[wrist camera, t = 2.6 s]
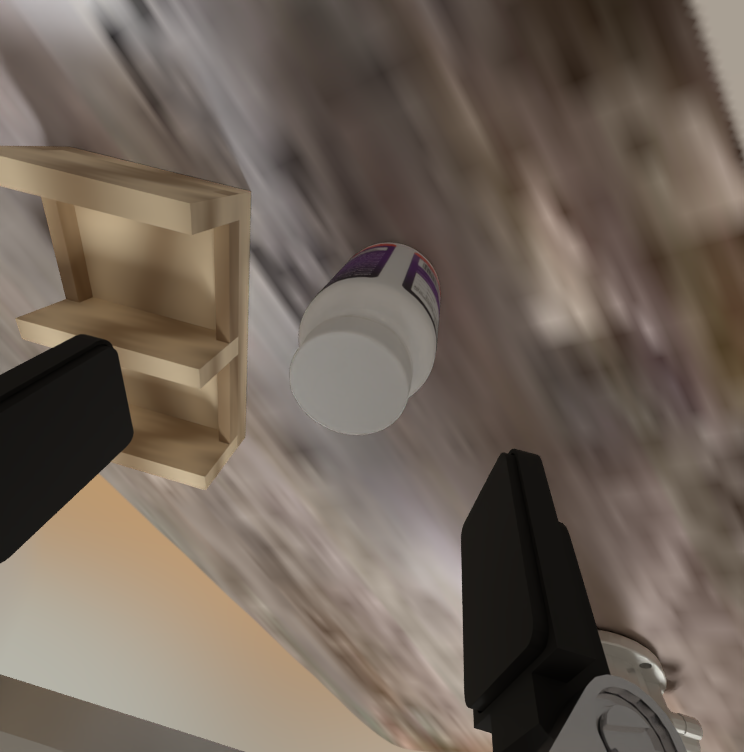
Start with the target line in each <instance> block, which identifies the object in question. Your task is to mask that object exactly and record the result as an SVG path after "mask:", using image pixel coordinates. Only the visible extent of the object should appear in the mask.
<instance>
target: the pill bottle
mask: <svg viewBox="0 0 744 752" xmlns="http://www.w3.org/2000/svg"><path fill="white" fill-rule="evenodd" d="M440 301H441V292H440V284H439V280H438V277H437V274H436V272H435V270H434V268H433V266H432V265H431V263H430V262H429V261H428V260H427V259H426V258H425V257H424V256H423V255H422V254H421V253H419V252H418V251H417V250H415V249H413V248H411V247H409V246H407V245H403V244H399V243H392V242H386V243H378V244H374V245H371V246H368V247H366V248H364V249H363V250H361V251H360V252H358V253H357V254H356V255H354V256H353V257H352V258H351V259H350V260H349V261H348V262H347V263H346V264H345V266H344V267H343V268H342V269H341V270H340V271H339V272H338V273H337V274H336V275H335V276H334V277H333V279H332V280H331V281H330V282H329V283H328V284H327V285H326V286H325V287H324V288H323V289H322V290H321V291H320V292H319V293H318V295H317V296H316V297H315V298H314V299H313V301H312V302H311V303H310V305H309V306H308V308H307V309H306V311H305V313H304V315H303V317H302V320H301V323H300V328H299V349H298V350H297V351H296V353H295V355H294V357H293V359H292V362H291V365H290V372H289V378H290V386H291V390H292V393H293V395H294V397H295V399H296V401H297V403H298V404H299V406H300V407H301V408H302V410H303V411H304V412H305V413H306V414H307V415H308V416H309V417H310V418H312V419H313V420H314V421H316V422H317V423H318V424H320V425H322V426H324V427H326V428H328V429H330V430H332V431H335V432H339V433H342V434H348V435H366V434H372V433H376V432H378V431H381V430H383V429H385V428H387V427H388V426H390V425H391V424H393V423H394V422H395V421H396V420H397V419H398V418H399V416H400V415H401V414H402V412H403V410H404V408H405V406H406V404H407V401H408V398H409V397H410V396H412V395H413V394H414V393H415V392H417V391H418V390H419V389H420V387H421V386H422V385H423V384H424V383H425V381H426V380H427V378H428V376H429V375H430V372H431V370H432V367H433V364H434V360H435V355H436V349H437V336H438V325H439V314H440Z"/></svg>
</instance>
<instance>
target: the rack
mask: <svg viewBox="0 0 744 752" xmlns="http://www.w3.org/2000/svg"><path fill="white" fill-rule="evenodd" d="M0 186H2V187H6V188H10V189H14V190H18V191H21V192H25V193H29V194H33V195H37V196H41V198H42V202H43V206H44V211H45V215H46V219H47V223H48V227H49V231H50V235H51V239H52V243H53V247H54V251H55V255H56V259H57V264H58V268H59V272H60V276H61V280H62V284H63V288H64V292H65V296H66V299H65V300H63V301H60V302H57V303H55V304H52V305H49V306H47V307H44V308H42V309H39V310H36V311H34V312H31V313H28V314H26V315H23V316H20V317H18V318H15V319H16V322H17V325H18V328H19V331H20V334H21V337H22V339H24V340H27V341H31V342H34V343H38V344H41V345H45V346H48V347H52V348H53V347H55V346H57V345H59V344H61V343H63V342H64V341H66V340H68V339H70V338H72V337H74V336H76V335H79V334H86V335H90V336H94V337H97V338H101V339H105V340H107V341H110V343H111V344H112V345H113V348H114V349H115V350H116V351H117V353H118V356H119V361H120V366H121V371H122V376H123V381H124V386H125V391H126V396H127V401H128V406H129V410H130V415H131V420H132V425H133V430H134V434H133V438H132V440H131V442H130V444H129V445H128V446H127V447H126V448H125V449H124V450H123V451H122V452H121V453H119V454H118V455H117V456H116V457H115V458H114V459H113V460H112V461H111V462H112V463H116V464H119V465H122V466H126V467H129V468H133V469H136V470H139V471H143V472H146V473H149V474H153V475H156V476H159V477H163V478H166V479H169V480H173V481H176V482H179V483H183V484H186V485H190V486H193V487H196V488H200V489H203V490H206V489H207V488H208V487H209V485H210V484H211V483H212V481H213V480H214V479H215V477H216V476H217V475H218V473H219V472H220V471H221V469H222V468H223V466H224V465H225V464H226V462H227V461H228V460H229V458H230V457H231V456H232V454H233V453H234V452H235V450H236V449H237V448H238V446H239V445H240V444H241V442H242V441H243V439H244V438H245V428H246V385H247V343H248V301H249V258H250V216H251V191H247V190H243V189H239V188H235V187H231V186H227V185H222V184H218V183H214V182H210V181H206V180H202V179H198V178H194V177H190V176H186V175H182V174H178V173H174V172H170V171H166V170H162V169H158V168H154V167H149V166H145V165H141V164H137V163H133V162H129V161H125V160H121V159H117V158H113V157H109V156H105V155H101V154H97V153H93V152H89V151H85V150H81V149H76V148H72V147H57V146H0Z"/></svg>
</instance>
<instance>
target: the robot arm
mask: <svg viewBox="0 0 744 752" xmlns="http://www.w3.org/2000/svg"><path fill="white" fill-rule="evenodd" d="M133 434H134V430H133V425H132V420H131V415H130V410H129V406H128V401H127V396H126V391H125V386H124V381H123V376H122V371H121V366H120V361H119V356H118V353H117V351H116V350H115V349H114V348H113V345H112V344H111V343H110V341H107V340H105V339H101V338H97V337H94V336H90V335H86V334H79V335H76V336H74V337H72V338H70V339H68V340H66V341H64V342H63V343H61V344H59V345H57V346H55V347H53V348H51V349H49V350H47V351H45V352H43V353H41V354H40V355H38V356H36V357H34V358H32V359H30V360H28V361H26V362H24V363H22V364H20V365H18V366H16V367H15V368H13V369H11V370H9V371H7V372H5V373H3V374H1V375H0V563H2V562H3V561H5V560H6V559H8V558H9V557H10V556H11V555H12V554H13V553H15V552H16V551H17V550H18V549H19V548H20V547H21V546H22V545H23V544H24V543H25V542H26V541H27V540H28V539H29V538H30V537H31V536H32V535H34V534H35V532H37V531H38V530H39V529H40V528H41V527H42V526H43V525H44V524H45V523H46V522H47V521H48V520H49V519H51V518H52V517H53V516H54V515H55V514H56V513H57V512H58V511H59V510H60V509H61V508H62V507H63V506H64V505H65V504H66V503H68V501H70V500H71V499H72V498H73V497H74V496H75V495H76V494H77V493H78V492H79V491H80V490H81V489H82V488H83V487H84V486H86V485H87V484H88V483H89V482H90V481H91V480H92V479H93V478H94V477H95V476H96V475H97V474H98V473H99V472H100V471H101V470H103V469H104V468H105V467H106V466H107V465H108V464H109V463H110V462H111V461H112V460H113V459H114V458H115V457H116V456H117V455H118V454H119V453H121V452H122V451H123V450H124V449H125V448H126V447H127V446H128V445H129V444H130V442H131V440H132V438H133ZM461 557H462V604H463V652H464V694H465V702H466V705H467V707H468V708H471V709H473V715H474V728H476V729H479V730H483V731H486V732H489V733H492V743H493V752H700V744H699V740H701V738H702V736H703V731H702V727H701V725H700V723H699V721H698V720H696V719H695V718H693V717H689V716H686V715H683V714H680V713H673V712H671V711H670V710H669V708H668V707H667V706H666V703H665V700H664V698H663V695H662V694H663V693H664V690H665V688H666V683H667V679H666V676H665V674H664V671H663V668H662V666H661V663H660V662H659V660H658V659H657V657H656V656H655V655H654V654H653V653H652V652H651V651H650V650H649V649H647V648H646V647H644V646H642V645H641V644H639V643H638V642H636V641H634V640H631V639H629V638H627V637H624V636H622V635H618V634H615V633H612V632H608V631H603V630H598V629H597V626H596V623H595V620H594V616H593V613H592V610H591V606H590V603H589V599H588V596H587V593H586V589H585V586H584V582H583V579H582V576H581V572H580V569H579V566H578V562H577V559H576V555H575V552H574V549H573V545H572V542H571V538H570V535H569V533H568V530H567V528H566V527H565V525H564V524H563V523H561V522H558V518H557V515H556V511H555V507H554V504H553V500H552V496H551V493H550V489H549V486H548V482H547V478H546V475H545V471H544V468H543V464H542V460H541V458H540V456H538V455H536V454H532V453H528V452H525V451H521V450H517V449H512V450H511V451H510V452H509V453H508V454H507V453H501V454H500V456H499V458H498V460H497V461H496V463H495V465H494V467H493V469H492V471H491V473H490V475H489V477H488V479H487V481H486V482H485V484H484V486H483V488H482V490H481V492H480V494H479V496H478V498H477V500H476V502H475V503H474V505H473V507H472V509H471V511H470V513H469V515H468V517H467V519H466V521H465V523H464V525H463V528H462V534H461ZM0 752H244V751H241V750H238V749H235V748H231V747H228V746H225V745H222V744H219V743H216V742H212V741H209V740H206V739H203V738H200V737H197V736H194V735H191V734H188V733H184V732H181V731H178V730H175V729H172V728H169V727H166V726H162V725H159V724H156V723H153V722H150V721H147V720H143V719H140V718H137V717H134V716H131V715H128V714H124V713H121V712H118V711H115V710H112V709H109V708H105V707H102V706H99V705H96V704H93V703H90V702H86V701H83V700H80V699H77V698H74V697H70V696H67V695H64V694H61V693H57V692H55V691H51V690H48V689H45V688H42V687H39V686H35V685H32V684H29V683H26V682H22V681H19V680H16V679H13V678H10V677H7V676H4V675H0Z"/></svg>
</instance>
